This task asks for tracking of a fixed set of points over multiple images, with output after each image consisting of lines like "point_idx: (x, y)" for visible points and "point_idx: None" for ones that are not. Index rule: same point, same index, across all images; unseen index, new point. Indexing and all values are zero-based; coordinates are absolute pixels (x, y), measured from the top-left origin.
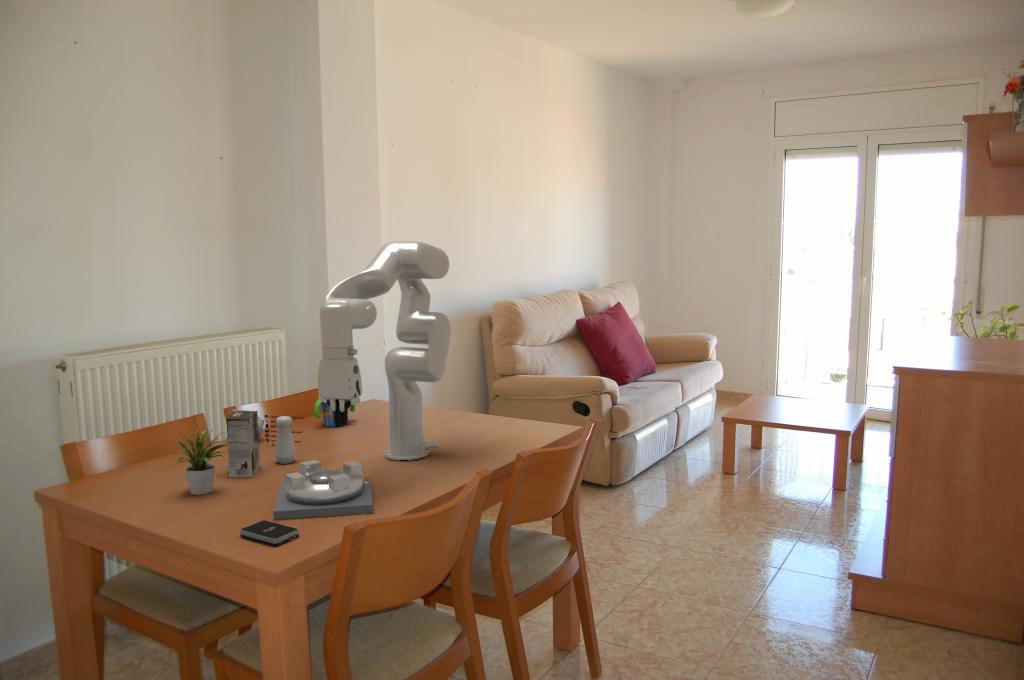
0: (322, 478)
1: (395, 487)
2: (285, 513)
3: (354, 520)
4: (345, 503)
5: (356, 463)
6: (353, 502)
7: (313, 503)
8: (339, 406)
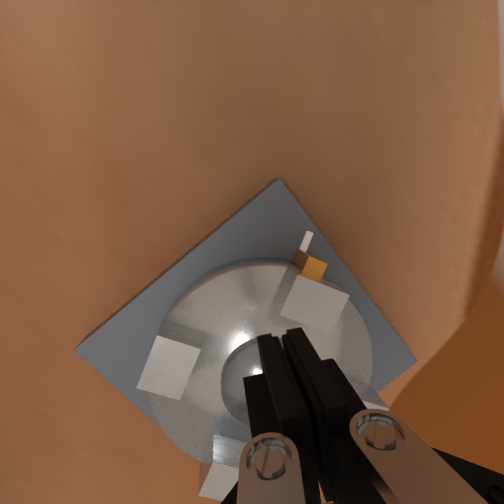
0: None
1: (355, 171)
2: None
3: (391, 398)
4: None
5: (326, 296)
6: None
7: None
8: (308, 491)
